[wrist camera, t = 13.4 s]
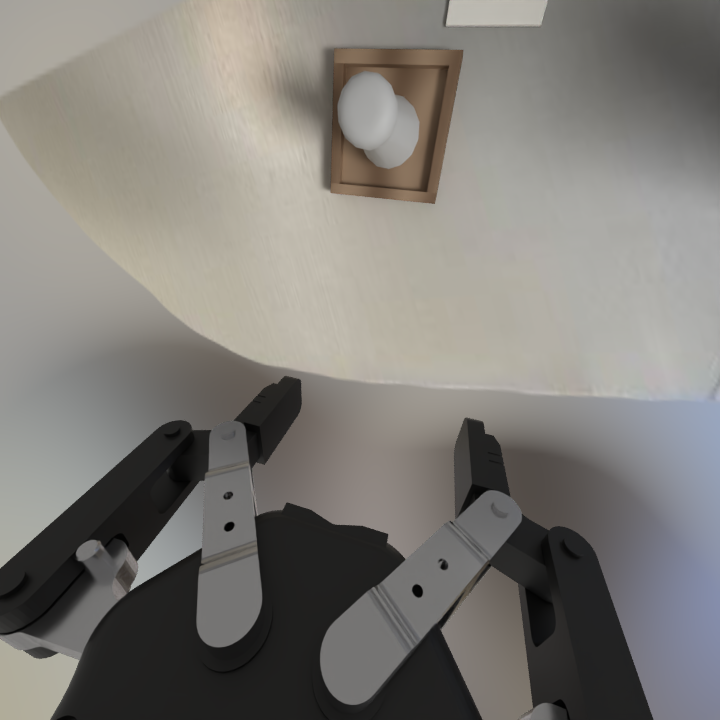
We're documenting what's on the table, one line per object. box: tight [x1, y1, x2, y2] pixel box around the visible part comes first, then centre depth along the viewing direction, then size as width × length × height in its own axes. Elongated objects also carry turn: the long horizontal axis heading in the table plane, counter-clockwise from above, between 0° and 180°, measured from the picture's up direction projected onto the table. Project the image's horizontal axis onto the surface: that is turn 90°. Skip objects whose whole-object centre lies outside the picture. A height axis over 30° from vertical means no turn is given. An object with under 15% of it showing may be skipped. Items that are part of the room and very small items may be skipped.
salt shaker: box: [337, 71, 419, 169], centre depth 25 cm, size 6×6×13 cm
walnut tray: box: [331, 49, 463, 204], centre depth 31 cm, size 12×12×2 cm
